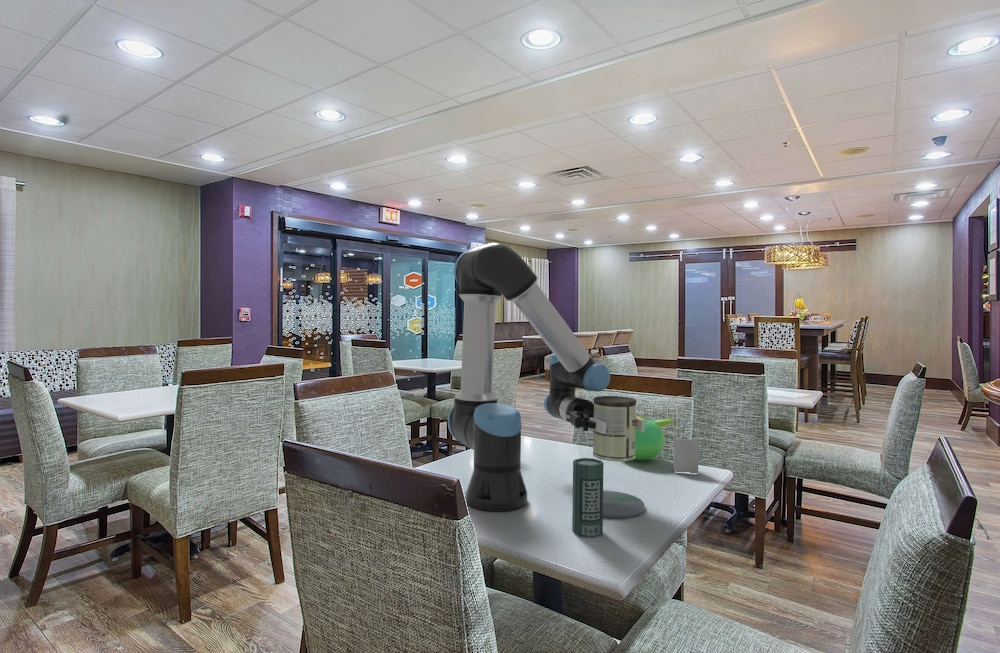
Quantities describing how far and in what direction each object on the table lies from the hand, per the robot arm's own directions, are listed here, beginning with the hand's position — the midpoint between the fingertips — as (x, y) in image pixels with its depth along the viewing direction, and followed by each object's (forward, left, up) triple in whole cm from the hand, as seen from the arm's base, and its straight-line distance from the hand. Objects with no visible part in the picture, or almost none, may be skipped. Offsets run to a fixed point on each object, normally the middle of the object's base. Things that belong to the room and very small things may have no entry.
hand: (624, 427), depth 127 cm
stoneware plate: (-1, +3, -20) cm, 20 cm away
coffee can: (0, +4, -8) cm, 9 cm away
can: (-14, -9, -20) cm, 26 cm away
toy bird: (+32, +39, -20) cm, 54 cm away
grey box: (+36, +21, -20) cm, 46 cm away
